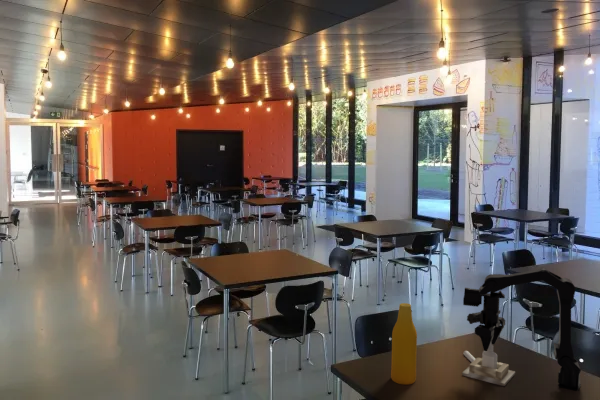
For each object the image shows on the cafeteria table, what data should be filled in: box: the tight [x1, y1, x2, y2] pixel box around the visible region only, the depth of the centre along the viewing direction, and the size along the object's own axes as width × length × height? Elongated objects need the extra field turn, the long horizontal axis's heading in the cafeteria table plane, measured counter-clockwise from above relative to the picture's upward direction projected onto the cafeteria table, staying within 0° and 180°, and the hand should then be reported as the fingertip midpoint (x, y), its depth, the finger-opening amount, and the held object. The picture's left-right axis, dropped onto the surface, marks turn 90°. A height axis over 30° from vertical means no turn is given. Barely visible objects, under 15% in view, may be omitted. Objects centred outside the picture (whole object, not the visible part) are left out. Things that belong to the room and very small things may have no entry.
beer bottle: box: [390, 302, 418, 386], centre depth 200 cm, size 9×9×29 cm
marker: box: [462, 350, 476, 364], centre depth 222 cm, size 3×2×16 cm
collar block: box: [461, 357, 516, 387], centre depth 206 cm, size 16×14×4 cm
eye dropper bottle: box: [481, 343, 498, 369], centre depth 206 cm, size 4×6×12 cm
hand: (489, 347), depth 206 cm, fingers open, 9 cm apart
